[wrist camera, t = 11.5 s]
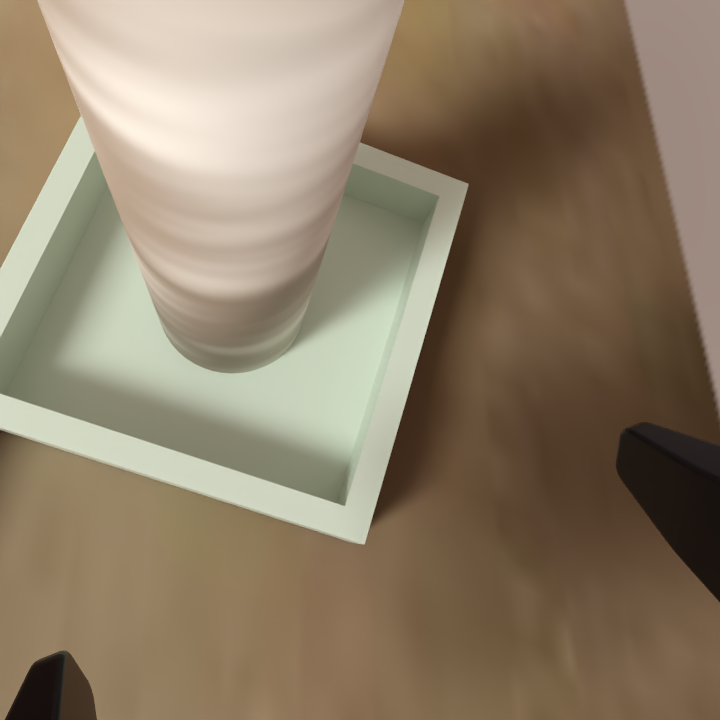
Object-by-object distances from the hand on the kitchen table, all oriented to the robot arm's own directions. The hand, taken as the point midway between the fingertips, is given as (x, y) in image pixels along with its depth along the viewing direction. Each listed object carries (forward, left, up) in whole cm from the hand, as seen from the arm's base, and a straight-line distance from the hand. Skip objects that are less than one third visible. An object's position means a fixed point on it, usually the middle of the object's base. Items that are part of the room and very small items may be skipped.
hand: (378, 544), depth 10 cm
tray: (+5, -6, -10) cm, 12 cm away
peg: (+5, -6, -9) cm, 12 cm away
